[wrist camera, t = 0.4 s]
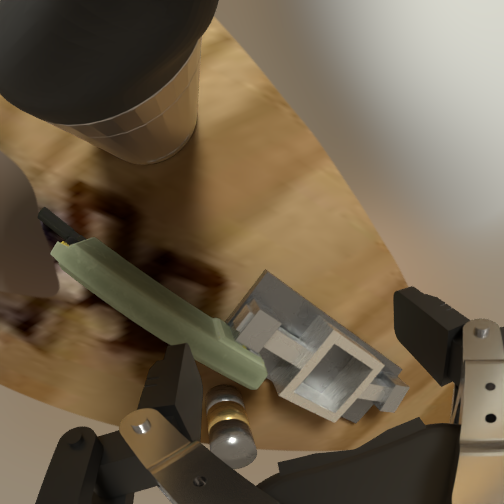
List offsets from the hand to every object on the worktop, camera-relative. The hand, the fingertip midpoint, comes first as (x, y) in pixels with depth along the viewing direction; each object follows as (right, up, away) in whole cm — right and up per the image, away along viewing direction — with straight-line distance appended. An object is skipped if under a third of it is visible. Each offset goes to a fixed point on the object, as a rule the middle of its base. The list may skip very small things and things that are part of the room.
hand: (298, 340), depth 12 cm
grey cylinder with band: (-5, -13, +21) cm, 25 cm away
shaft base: (+5, -8, +22) cm, 24 cm away
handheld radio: (-12, 0, +18) cm, 22 cm away
